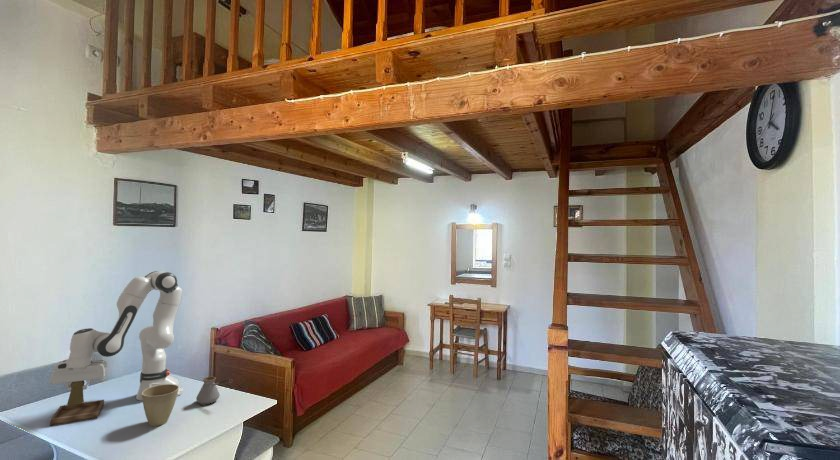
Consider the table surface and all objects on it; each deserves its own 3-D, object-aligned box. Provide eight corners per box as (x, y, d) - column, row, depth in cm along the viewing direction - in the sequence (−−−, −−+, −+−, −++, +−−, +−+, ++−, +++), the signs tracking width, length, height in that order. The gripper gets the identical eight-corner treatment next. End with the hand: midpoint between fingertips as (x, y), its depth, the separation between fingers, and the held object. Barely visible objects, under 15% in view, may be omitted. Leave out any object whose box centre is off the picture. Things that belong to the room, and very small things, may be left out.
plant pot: (139, 420, 178) (142, 387, 179) (175, 413, 187) (177, 382, 188) (138, 433, 166) (141, 398, 167) (177, 425, 175) (179, 391, 176)
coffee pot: (190, 404, 198) (192, 376, 199) (208, 396, 209) (210, 370, 210) (220, 411, 192) (222, 382, 193) (237, 402, 203) (239, 375, 204)
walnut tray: (103, 405, 192) (104, 399, 192) (97, 418, 178) (97, 412, 178) (59, 411, 183) (60, 405, 183) (49, 426, 169) (50, 419, 169)
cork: (73, 406, 176) (75, 383, 176) (63, 404, 177) (66, 381, 178) (86, 401, 182) (89, 379, 182) (77, 399, 183) (80, 377, 183)
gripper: (108, 357, 189) (105, 384, 188) (54, 362, 178) (51, 391, 177) (106, 361, 184) (103, 388, 183) (50, 366, 172) (47, 395, 172)
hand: (77, 389), depth 180 cm, fingers closed on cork, 4 cm apart
